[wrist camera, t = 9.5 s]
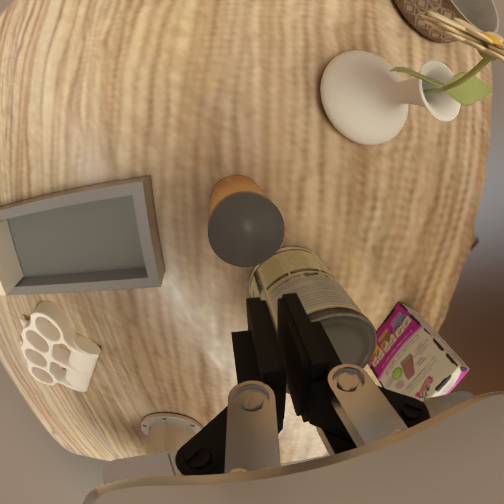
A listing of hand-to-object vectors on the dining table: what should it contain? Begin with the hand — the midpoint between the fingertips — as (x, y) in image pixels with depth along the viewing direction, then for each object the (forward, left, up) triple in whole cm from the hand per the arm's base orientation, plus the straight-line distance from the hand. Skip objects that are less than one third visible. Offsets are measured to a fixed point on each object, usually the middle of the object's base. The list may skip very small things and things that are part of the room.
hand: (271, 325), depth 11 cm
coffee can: (-11, -6, -22) cm, 25 cm away
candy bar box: (-23, -24, -22) cm, 40 cm away
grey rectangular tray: (-2, +23, -21) cm, 31 cm away
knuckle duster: (-20, +31, -22) cm, 43 cm away
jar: (0, 0, -21) cm, 21 cm away
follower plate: (-2, +32, -20) cm, 38 cm away
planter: (+29, -27, -22) cm, 45 cm away
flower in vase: (+12, -14, -22) cm, 28 cm away
